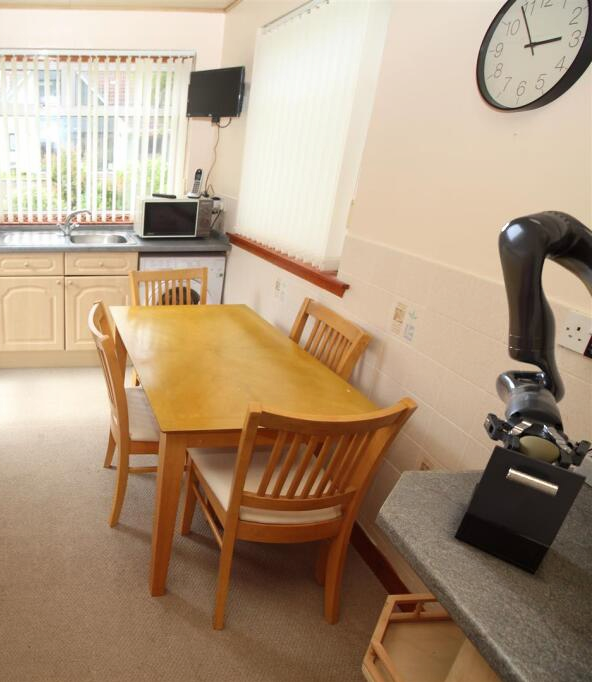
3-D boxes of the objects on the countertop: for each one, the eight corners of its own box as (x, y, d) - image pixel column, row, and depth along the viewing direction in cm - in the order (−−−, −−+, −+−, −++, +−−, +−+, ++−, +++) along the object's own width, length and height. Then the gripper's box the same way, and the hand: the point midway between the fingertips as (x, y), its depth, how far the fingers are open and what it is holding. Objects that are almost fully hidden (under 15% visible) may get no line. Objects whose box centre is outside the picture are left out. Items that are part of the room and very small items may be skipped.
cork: (543, 498, 81) (571, 445, 76) (531, 512, 77) (560, 456, 73) (499, 479, 85) (524, 427, 81) (487, 491, 82) (512, 437, 78)
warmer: (465, 506, 90) (476, 482, 88) (539, 538, 84) (553, 512, 81) (454, 537, 83) (465, 511, 81) (534, 575, 76) (549, 548, 74)
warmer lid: (495, 444, 77) (493, 453, 73) (586, 476, 70) (588, 487, 67) (467, 508, 81) (463, 520, 77) (550, 544, 74) (550, 559, 70)
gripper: (491, 386, 91) (489, 422, 78) (595, 414, 82) (612, 458, 70) (476, 420, 94) (473, 459, 81) (576, 450, 85) (589, 498, 73)
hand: (537, 458), depth 76 cm, fingers closed on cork, 5 cm apart
